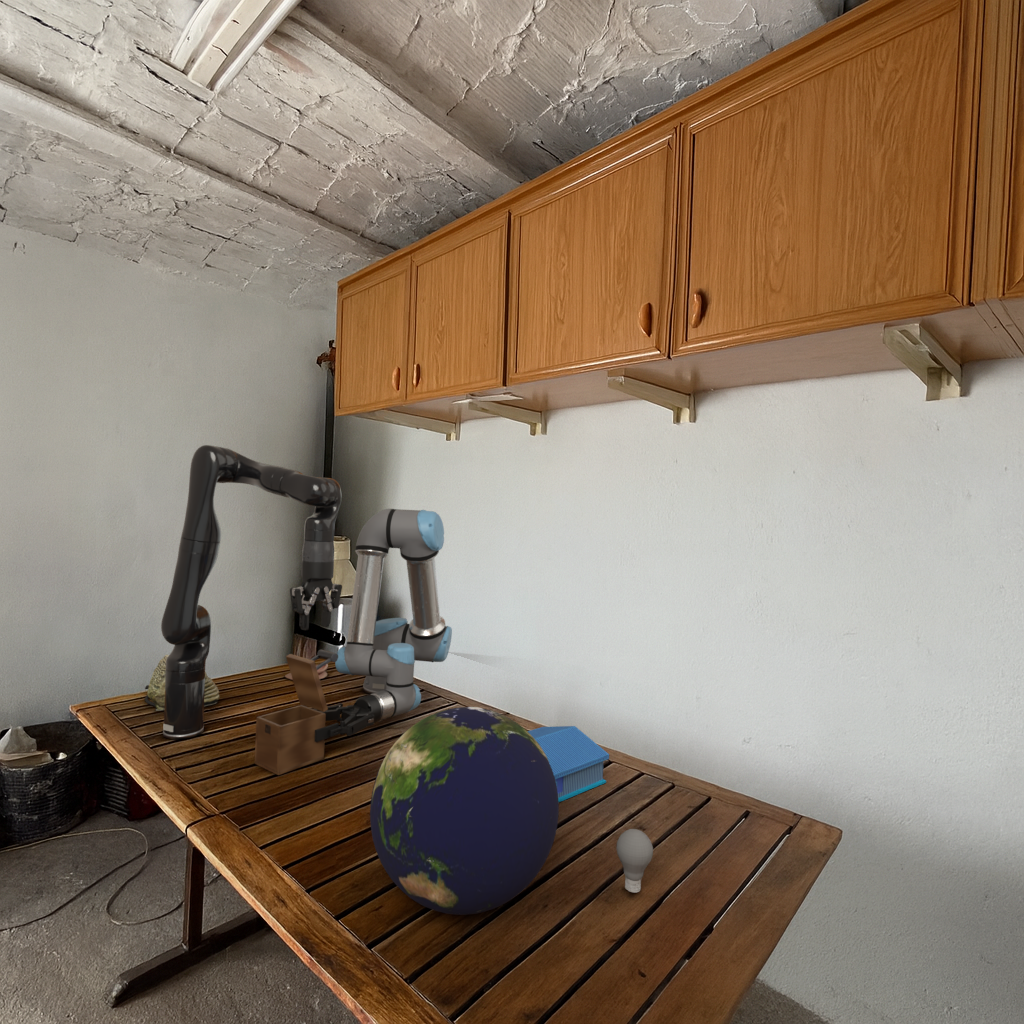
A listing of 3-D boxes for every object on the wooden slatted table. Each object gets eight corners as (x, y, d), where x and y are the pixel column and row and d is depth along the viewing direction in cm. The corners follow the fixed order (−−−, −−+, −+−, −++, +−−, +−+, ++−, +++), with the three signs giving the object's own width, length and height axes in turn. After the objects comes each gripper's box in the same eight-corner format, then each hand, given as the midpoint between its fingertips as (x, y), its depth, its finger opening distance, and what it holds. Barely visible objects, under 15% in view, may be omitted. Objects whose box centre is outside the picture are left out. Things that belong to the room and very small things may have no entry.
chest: (278, 775, 143) (280, 726, 143) (254, 763, 148) (256, 716, 148) (323, 758, 153) (325, 713, 153) (299, 748, 158) (301, 704, 158)
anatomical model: (280, 667, 215) (298, 659, 227) (279, 678, 215) (297, 670, 227) (316, 671, 213) (332, 662, 224) (315, 682, 213) (332, 673, 224)
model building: (485, 844, 118) (488, 791, 117) (412, 795, 136) (414, 749, 136) (617, 787, 144) (619, 743, 144) (541, 752, 162) (543, 713, 162)
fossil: (144, 707, 182) (145, 655, 182) (212, 696, 194) (213, 647, 194) (151, 716, 175) (153, 662, 175) (221, 703, 188) (223, 653, 188)
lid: (310, 663, 148) (340, 644, 155) (285, 656, 154) (315, 638, 161) (323, 712, 152) (352, 691, 159) (299, 703, 158) (328, 684, 165)
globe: (325, 925, 94) (333, 724, 93) (426, 831, 121) (433, 676, 121) (512, 993, 82) (522, 765, 82) (577, 872, 110) (584, 701, 110)
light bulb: (610, 879, 108) (613, 822, 108) (644, 879, 109) (647, 822, 109) (619, 902, 102) (622, 840, 102) (655, 901, 103) (658, 840, 103)
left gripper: (302, 562, 146) (299, 634, 147) (351, 559, 158) (348, 626, 158) (283, 559, 151) (280, 629, 151) (332, 556, 162) (329, 622, 163)
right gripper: (401, 732, 165) (331, 758, 147) (345, 712, 178) (274, 734, 160) (402, 703, 165) (332, 726, 147) (346, 686, 178) (276, 704, 160)
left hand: (315, 627), depth 155 cm, fingers open, 5 cm apart
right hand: (302, 730), depth 153 cm, fingers closed on chest, 9 cm apart
